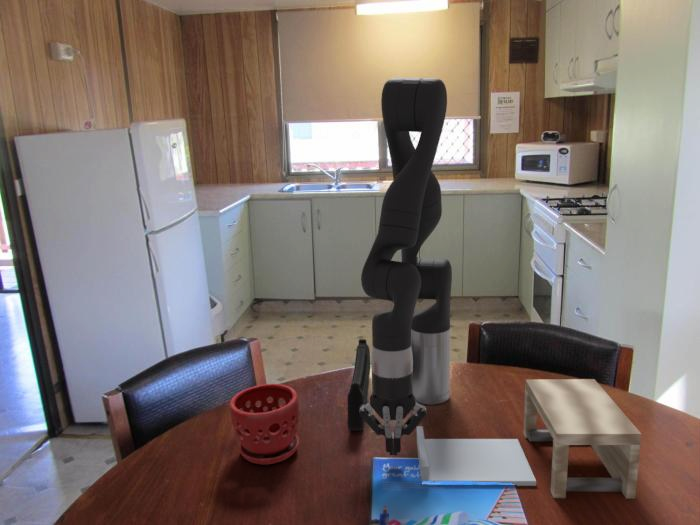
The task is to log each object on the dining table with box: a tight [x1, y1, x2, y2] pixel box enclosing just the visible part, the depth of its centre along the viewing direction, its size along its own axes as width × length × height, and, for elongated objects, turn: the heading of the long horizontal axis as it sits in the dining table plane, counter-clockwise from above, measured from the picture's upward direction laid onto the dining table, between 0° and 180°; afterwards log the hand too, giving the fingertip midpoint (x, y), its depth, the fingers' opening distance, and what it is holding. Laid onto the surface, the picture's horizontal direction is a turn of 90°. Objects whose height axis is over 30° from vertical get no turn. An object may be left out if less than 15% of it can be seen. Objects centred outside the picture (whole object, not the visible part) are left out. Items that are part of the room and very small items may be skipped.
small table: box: [522, 378, 642, 500], centre depth 105 cm, size 14×21×12 cm, turn 177°
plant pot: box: [229, 383, 300, 466], centre depth 112 cm, size 13×13×12 cm
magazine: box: [347, 338, 371, 432], centre depth 131 cm, size 17×3×30 cm
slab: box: [416, 425, 537, 487], centre depth 107 cm, size 20×14×4 cm
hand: (393, 453), depth 108 cm, fingers closed
